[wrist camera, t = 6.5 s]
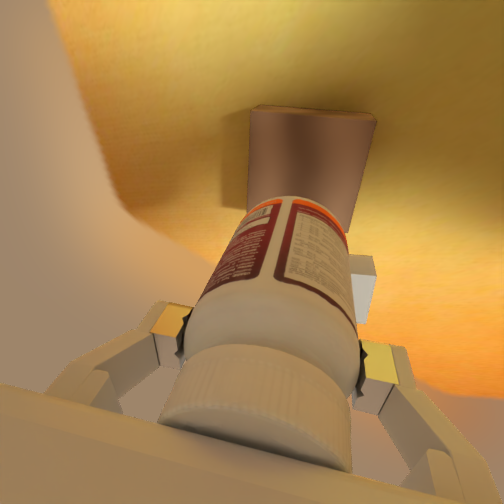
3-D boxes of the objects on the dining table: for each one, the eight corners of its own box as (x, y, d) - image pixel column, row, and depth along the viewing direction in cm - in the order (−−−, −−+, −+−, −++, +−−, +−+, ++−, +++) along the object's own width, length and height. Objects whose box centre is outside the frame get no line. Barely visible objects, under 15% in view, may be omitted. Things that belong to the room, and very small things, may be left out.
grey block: (372, 255, 34) (376, 276, 31) (362, 301, 38) (365, 324, 34) (309, 250, 35) (308, 270, 32) (306, 295, 39) (304, 316, 36)
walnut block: (370, 113, 26) (376, 121, 23) (345, 215, 32) (347, 233, 28) (259, 104, 28) (250, 110, 24) (254, 203, 33) (246, 219, 30)
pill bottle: (240, 279, 19) (156, 488, 10) (235, 187, 16) (103, 370, 6) (339, 292, 18) (351, 541, 9) (357, 195, 15) (408, 431, 5)
